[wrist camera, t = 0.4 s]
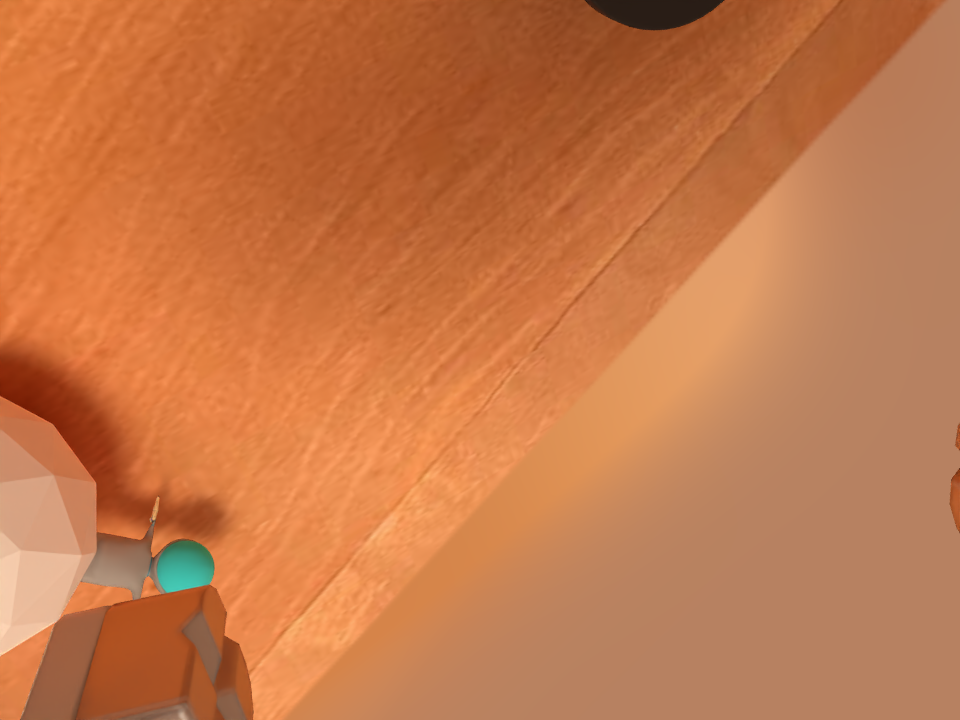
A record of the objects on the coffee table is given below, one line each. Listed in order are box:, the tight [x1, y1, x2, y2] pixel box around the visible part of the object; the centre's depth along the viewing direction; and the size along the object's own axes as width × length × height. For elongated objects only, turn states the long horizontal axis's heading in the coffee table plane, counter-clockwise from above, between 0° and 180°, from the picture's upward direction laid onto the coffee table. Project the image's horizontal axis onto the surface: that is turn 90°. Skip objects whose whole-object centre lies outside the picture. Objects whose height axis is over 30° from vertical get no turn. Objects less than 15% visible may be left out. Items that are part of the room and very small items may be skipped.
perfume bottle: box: [0, 396, 214, 656], centre depth 27 cm, size 8×8×12 cm
